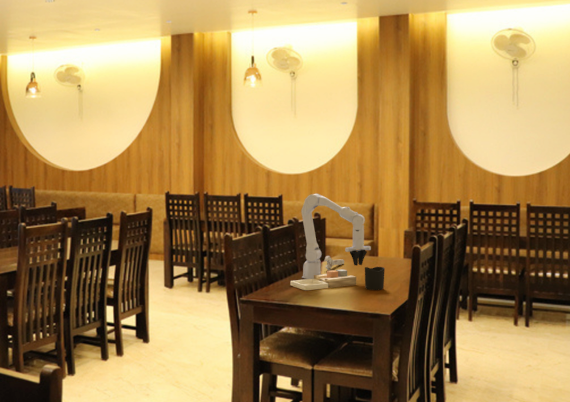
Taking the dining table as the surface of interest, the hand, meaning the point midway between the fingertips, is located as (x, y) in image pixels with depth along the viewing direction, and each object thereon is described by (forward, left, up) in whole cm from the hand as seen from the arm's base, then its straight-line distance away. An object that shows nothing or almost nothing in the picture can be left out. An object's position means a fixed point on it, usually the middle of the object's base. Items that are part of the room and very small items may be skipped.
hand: (358, 265), depth 326 cm
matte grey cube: (0, -10, -5) cm, 11 cm away
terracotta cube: (0, -16, -5) cm, 16 cm away
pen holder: (+19, -4, -9) cm, 21 cm away
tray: (0, -29, -8) cm, 30 cm away
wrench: (-42, +14, -9) cm, 45 cm away
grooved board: (0, -14, -8) cm, 16 cm away
